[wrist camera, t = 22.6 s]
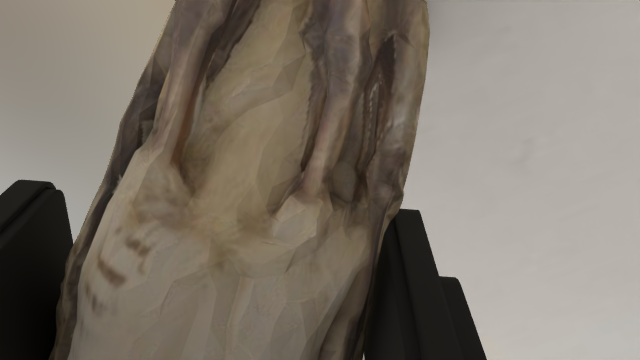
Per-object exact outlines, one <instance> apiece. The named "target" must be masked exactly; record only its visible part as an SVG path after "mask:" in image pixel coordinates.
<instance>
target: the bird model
mask: <svg viewBox="0 0 640 360" xmlns="http://www.w3.org/2000/svg"><path fill="white" fill-rule="evenodd" d="M429 35H430V34H429V17H428V9H427V2H426V1H425V0H176V2H175V4H174V6H173V8H172V10H171V12H170V14H169V16H168V18H167V20H166V23H165V25H164V27H163V29H162V32H161V34H160V36H159V39H158V41H157V43H156V45H155V48H154V50H153V52H152V54H151V56H150V59H149V61H148V63H147V65H146V67H145V69H144V71H143V73H142V75H141V77H140V79H139V81H138V84H137V87H136V90H135V92H134V95H133V97H132V99H131V102H130V104H129V106H128V108H127V109H126V112H125V114H124V116H123V118H122V120H121V122H120V126H119V130H118V135H117V139H116V144H115V147H114V150H113V153H112V156H111V159H110V162H109V165H108V168H107V171H106V174H105V177H104V179H103V181H102V183H101V185H100V187H99V189H98V192H97V194H96V196H95V198H94V200H93V202H92V204H91V206H90V209H89V211H88V214H87V216H86V219H85V221H84V223H83V226H82V228H81V231H80V233H79V235H78V237H77V239H76V241H75V243H74V245H73V246H72V248H71V250H70V253H69V255H68V258H67V260H66V264H65V277H64V279H63V281H62V283H61V295H60V298H59V301H58V304H57V307H56V336H55V343H54V347H53V349H52V351H51V353H50V356H49V359H48V360H362V359H363V354H364V348H365V343H366V335H367V326H368V320H369V316H370V311H371V304H372V297H373V291H374V284H375V277H376V271H377V264H378V258H379V254H380V249H381V245H382V240H383V236H384V233H385V231H386V229H387V227H388V225H389V223H390V221H391V220H392V219H393V218H394V216H395V215H396V214H397V213H398V211H399V209H400V206H401V204H402V201H403V196H404V193H403V189H404V185H405V182H406V178H407V174H408V170H409V166H410V161H411V156H412V151H413V146H414V141H415V137H416V131H417V125H418V118H419V111H420V105H421V99H422V94H423V89H424V83H425V76H426V66H427V56H428V46H429Z"/></svg>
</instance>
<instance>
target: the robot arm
mask: <svg viewBox="0 0 640 360" xmlns="http://www.w3.org/2000/svg"><path fill="white" fill-rule="evenodd" d="M72 246H73V239H72V234H71V229H70V223H69V219H68V213H67V207H66V202H65V197H64V194H63V192H62V191H61V190H56V188H55V186H54V185H53V183H51V182H45V181H32V180H18V181H16V182H15V183H14V184H12V185H11V186H10V187H9V188H8V189H7V190H6V191H5V192H3V193H2V194H1V195H0V360H48V359H49V356H50V353H51V351H52V349H53V347H54V343H55V336H56V307H57V304H58V301H59V298H60V295H61V283H62V281H63V279H64V277H65V264H66V260H67V258H68V255H69V253H70V250H71V248H72ZM364 356H365V360H487V359H486V356H485V353H484V350H483V347H482V344H481V342H480V339H479V336H478V333H477V330H476V327H475V324H474V321H473V319H472V316H471V313H470V310H469V307H468V304H467V301H466V298H465V296H464V293H463V290H462V287H461V284H460V282H459V280H458V279H456V278H455V277H442V276H439V274H438V271H437V268H436V264H435V261H434V258H433V254H432V251H431V248H430V244H429V241H428V237H427V234H426V231H425V227H424V224H423V221H422V217H421V214H420V212H419V210H410V209H399V211H398V213H397V214H396V215H395V216H394V218H393V219H392V220H391V221H390V223H389V225H388V227H387V229H386V231H385V233H384V236H383V240H382V245H381V249H380V254H379V258H378V264H377V271H376V277H375V284H374V291H373V297H372V304H371V311H370V316H369V320H368V326H367V335H366V343H365V348H364Z"/></svg>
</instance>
